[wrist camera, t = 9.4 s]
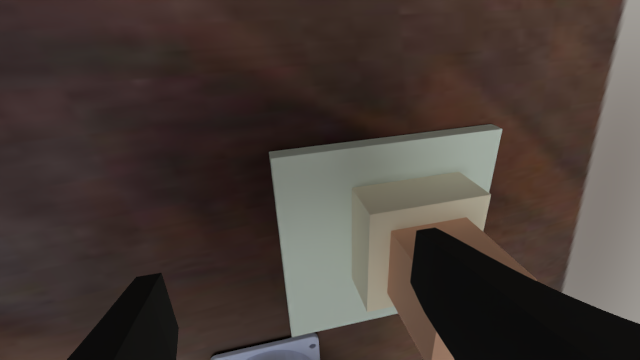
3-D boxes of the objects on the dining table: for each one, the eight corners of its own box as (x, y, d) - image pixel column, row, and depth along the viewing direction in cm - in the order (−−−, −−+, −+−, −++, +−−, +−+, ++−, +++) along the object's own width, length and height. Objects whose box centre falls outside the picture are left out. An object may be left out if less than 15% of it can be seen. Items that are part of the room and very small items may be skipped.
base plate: (459, 288, 28) (491, 328, 24) (289, 326, 25) (299, 376, 22) (491, 124, 21) (541, 146, 18) (268, 151, 19) (277, 183, 15)
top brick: (455, 278, 21) (514, 348, 17) (387, 292, 20) (429, 371, 16) (466, 217, 19) (536, 279, 14) (390, 230, 18) (441, 301, 14)
